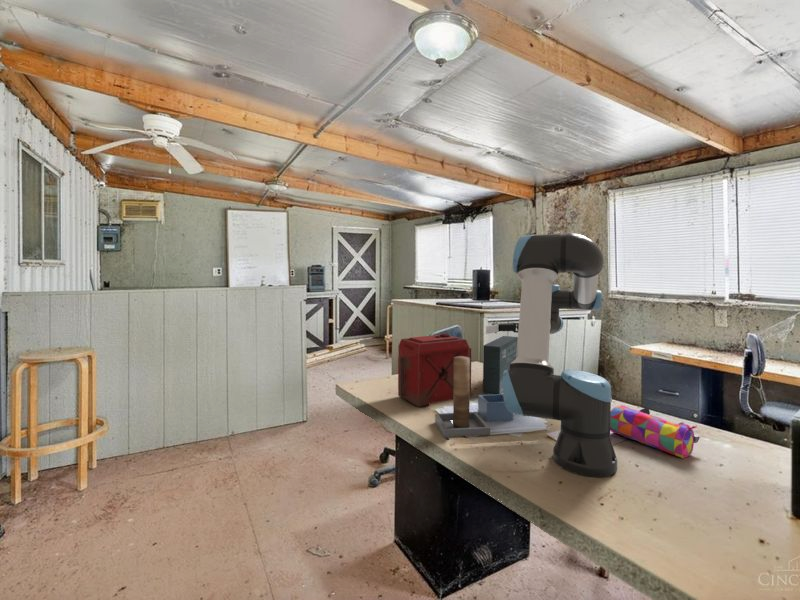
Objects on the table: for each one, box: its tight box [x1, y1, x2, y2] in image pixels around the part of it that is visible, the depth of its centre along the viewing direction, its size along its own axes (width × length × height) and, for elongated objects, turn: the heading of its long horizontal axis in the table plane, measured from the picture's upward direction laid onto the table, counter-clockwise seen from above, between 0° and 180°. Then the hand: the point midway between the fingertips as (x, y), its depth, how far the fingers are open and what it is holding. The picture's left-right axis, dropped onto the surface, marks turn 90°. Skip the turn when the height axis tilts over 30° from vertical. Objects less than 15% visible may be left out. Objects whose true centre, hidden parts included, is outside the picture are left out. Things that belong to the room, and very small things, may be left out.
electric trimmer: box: [639, 407, 651, 415], centre depth 132 cm, size 4×16×3 cm, turn 129°
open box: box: [477, 393, 514, 422], centre depth 133 cm, size 9×9×7 cm
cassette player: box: [482, 335, 518, 395], centre depth 173 cm, size 29×7×20 cm, turn 149°
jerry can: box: [397, 333, 472, 408], centre depth 155 cm, size 30×16×25 cm, turn 118°
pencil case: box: [610, 405, 701, 459], centre depth 113 cm, size 22×9×9 cm, turn 33°
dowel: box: [452, 356, 471, 428], centre depth 123 cm, size 5×5×22 cm
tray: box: [434, 411, 491, 441], centre depth 124 cm, size 14×14×3 cm
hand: (503, 331), depth 133 cm, fingers open, 13 cm apart
